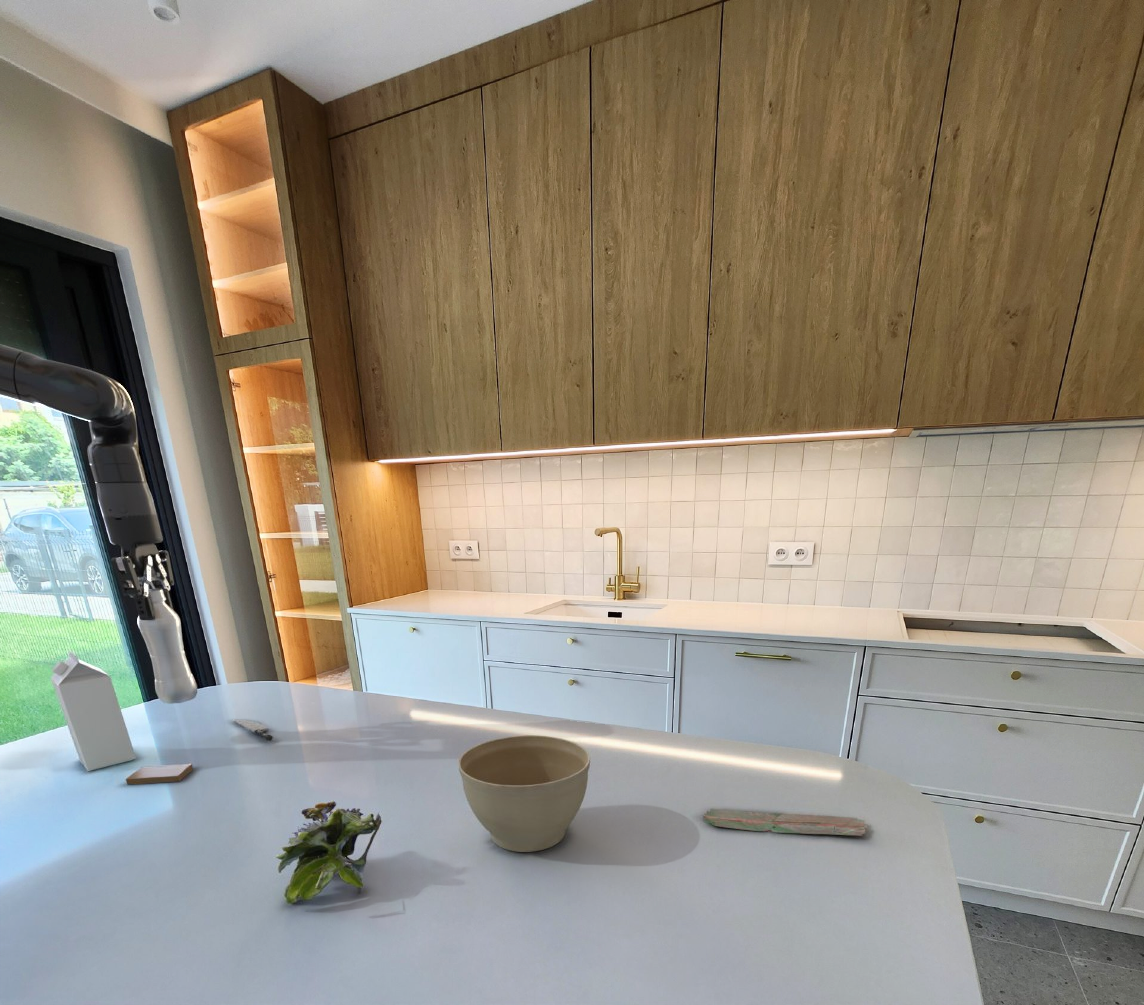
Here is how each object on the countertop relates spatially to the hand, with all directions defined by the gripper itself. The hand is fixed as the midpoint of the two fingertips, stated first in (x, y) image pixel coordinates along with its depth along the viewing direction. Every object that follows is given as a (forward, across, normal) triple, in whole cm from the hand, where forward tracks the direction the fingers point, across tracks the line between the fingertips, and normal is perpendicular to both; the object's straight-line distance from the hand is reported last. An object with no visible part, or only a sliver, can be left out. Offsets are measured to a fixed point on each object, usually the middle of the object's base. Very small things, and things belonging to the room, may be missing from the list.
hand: (157, 615), depth 113 cm
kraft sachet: (+23, +18, +3) cm, 29 cm away
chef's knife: (+23, -3, +11) cm, 26 cm away
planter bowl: (+23, +46, +62) cm, 81 cm away
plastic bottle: (+16, 0, 0) cm, 16 cm away
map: (+22, +48, +95) cm, 109 cm away
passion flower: (+23, +54, +40) cm, 71 cm away
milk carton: (+23, +9, -10) cm, 27 cm away
